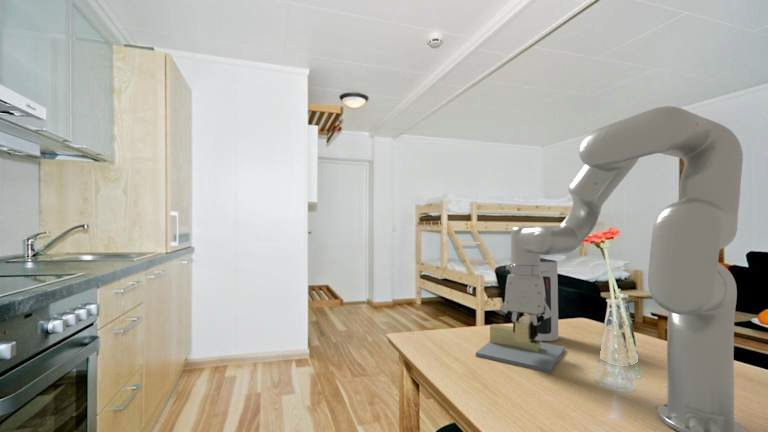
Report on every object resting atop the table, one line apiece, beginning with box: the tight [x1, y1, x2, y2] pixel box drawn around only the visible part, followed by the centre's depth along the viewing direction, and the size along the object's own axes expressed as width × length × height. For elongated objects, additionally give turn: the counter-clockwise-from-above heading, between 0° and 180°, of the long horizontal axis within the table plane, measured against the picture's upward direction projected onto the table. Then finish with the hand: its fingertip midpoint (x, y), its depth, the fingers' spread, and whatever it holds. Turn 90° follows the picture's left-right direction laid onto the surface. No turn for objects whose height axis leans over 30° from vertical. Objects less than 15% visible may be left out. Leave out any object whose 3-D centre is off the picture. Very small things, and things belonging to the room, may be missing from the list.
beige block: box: [515, 313, 541, 344], centre depth 103 cm, size 14×4×5 cm, turn 145°
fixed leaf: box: [489, 323, 542, 352], centre depth 110 cm, size 4×14×7 cm, turn 55°
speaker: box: [535, 257, 559, 343], centre depth 121 cm, size 11×10×26 cm
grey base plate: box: [475, 340, 565, 374], centre depth 106 cm, size 20×20×1 cm
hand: (525, 336), depth 100 cm, fingers closed on beige block, 3 cm apart
